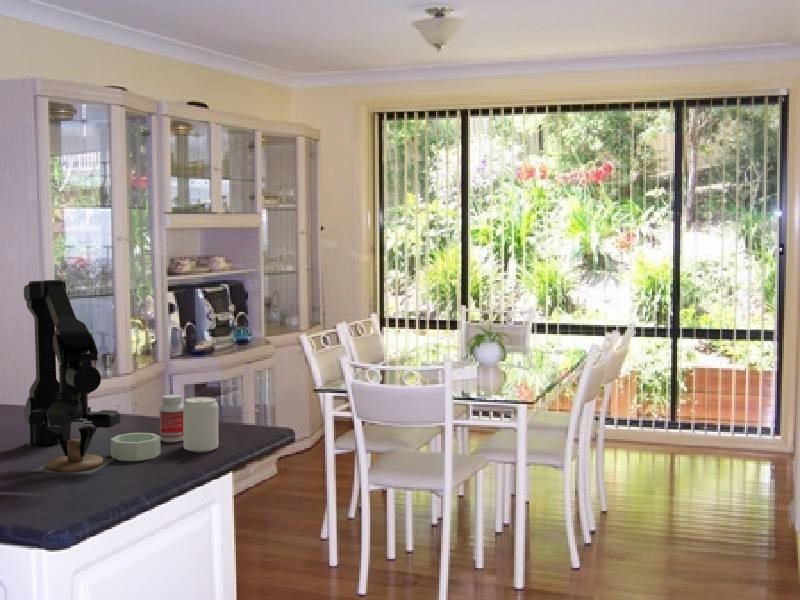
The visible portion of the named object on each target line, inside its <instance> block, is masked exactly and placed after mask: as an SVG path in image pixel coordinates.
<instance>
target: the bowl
mask: <svg viewBox="0 0 800 600" xmlns="http://www.w3.org/2000/svg"><path fill="white" fill-rule="evenodd" d="M159 455H161V440H160V435H158V434H156V433H154V432H151V433H150V432H131V433H122V434H117V435H116V436H114V437H112V438H110V457H111V458H112V459H116V460H117V461H123V462H137V461H138V462H139V461H146V460H152V459H154V458H157V457H158V456H159Z"/></svg>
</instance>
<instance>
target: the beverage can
mask: <svg viewBox="0 0 800 600" xmlns="http://www.w3.org/2000/svg"><path fill="white" fill-rule="evenodd" d="M183 439H184V440H183V449H184V450H187V451H191V453H208V452H212V451H215V450H216V449H217V448H218V447H219V404H218V402H217V399H216V398H215V397H211V396H195V397H188V398H186V399H185V400H184V403H183Z"/></svg>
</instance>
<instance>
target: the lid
mask: <svg viewBox="0 0 800 600" xmlns="http://www.w3.org/2000/svg"><path fill="white" fill-rule="evenodd" d="M80 444H81V438H70V439H69V440H67V457H66V456H65V455H60V456H55V457H54V458H50V459H49V460H47V462H46V464H47V468H48V469H49V470H52V471H57V472H78V471H86V470H91V469H95V468H97V467H100V466H101V465H102V464H103V456H100V455H98V454H93V453H92V454H90V453H86V454H85V456H84V457H81V453H80Z"/></svg>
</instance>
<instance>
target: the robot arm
mask: <svg viewBox="0 0 800 600" xmlns="http://www.w3.org/2000/svg"><path fill="white" fill-rule="evenodd" d="M69 298H70V297H69V296H68V293H67V285H66V281H65V280H62V279H44V280H30V281H29V282H28V284H26V285H25V286H24V287H23V299H24V300H25V302H26V307H27V309H28V311H29V312H30V313H31V315H32V317H33V318H34V320H33V321H34V344H35V345H34V349H35V354H34V355H35V380H34V381H33V383H32V384H31V386H30V388H29V391H28V392H29V393H28V397H27V400H26V403H25V407H24V410H23V414H24V416H23V417H24V421H25V422H27V425H29V437H30V438H29V440H30V441H29V443H27V444H26V447H28V446H29V447H49V448H50V447H51V448H52V447H54V446H57V445H58V444H60V447H61V449H62V451H63V453H64V456H66V457H67V440H69V439H71V434H72V433H71V432H72V431H71V429H72V428H71V425H72V423H82V424H83V425H82V426H81V427H79V428H78V431H79V434H80V439H81V444H80V453H81V457H84V456H85V454H87V451H88V448H89V446H90V444H91V441H92V439H93V437H94V436H95V433H96V431H97V429H98V428H100V429H101V428H102V429H103V428H104V429H109V428H112V427H114V426H116V425H118V424H120V423H121V415H120V414H121V413H120V412H118V410H116V409H115V410H113V409H112V410H110V409H101V410H99V411H97V412H95V413H91V408H92V407H91V406H89V401H88V400H89V399H88V396H89V394H91V393H93V392H94V391H96V390H97V389H98V388H99V386H100V385H101V383H102V375H101V373H100V371H99V370H98V369H97V368H96V367H95V366H92V362H94V361H98V355H99V350H98V348H97V344H96V342H95V339H94V337H93V335H92V333H91V332H90V331H89V328H88V327H87V325H86V324H85V323H84V322H82V321H81V320H79V319H77V316H76V315H75V311H74V309H73V307H72V303H71V301H70V299H69ZM57 361H58V363H59V366H58V367H59V380H58V379H57Z"/></svg>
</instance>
